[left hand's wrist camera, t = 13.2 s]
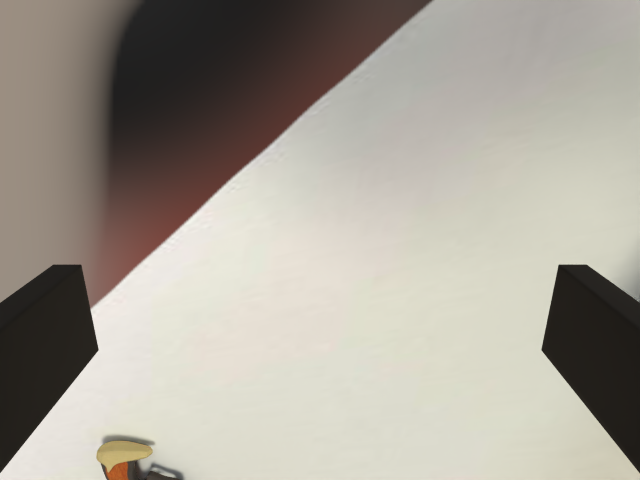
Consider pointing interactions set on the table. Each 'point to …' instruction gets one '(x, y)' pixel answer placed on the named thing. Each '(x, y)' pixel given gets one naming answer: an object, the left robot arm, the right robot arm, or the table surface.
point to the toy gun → (125, 460)
